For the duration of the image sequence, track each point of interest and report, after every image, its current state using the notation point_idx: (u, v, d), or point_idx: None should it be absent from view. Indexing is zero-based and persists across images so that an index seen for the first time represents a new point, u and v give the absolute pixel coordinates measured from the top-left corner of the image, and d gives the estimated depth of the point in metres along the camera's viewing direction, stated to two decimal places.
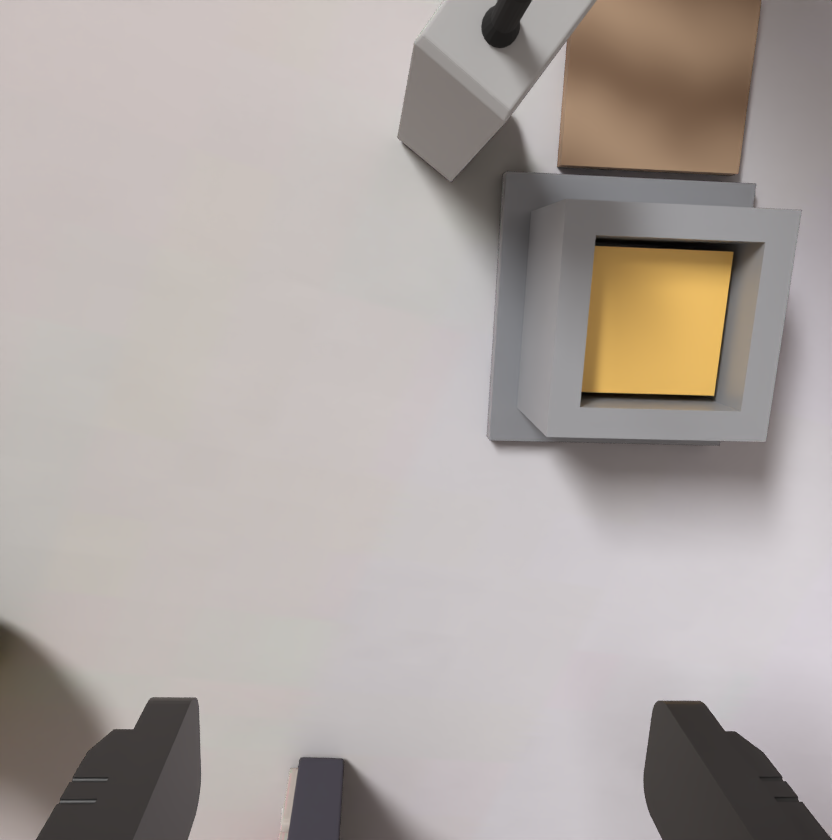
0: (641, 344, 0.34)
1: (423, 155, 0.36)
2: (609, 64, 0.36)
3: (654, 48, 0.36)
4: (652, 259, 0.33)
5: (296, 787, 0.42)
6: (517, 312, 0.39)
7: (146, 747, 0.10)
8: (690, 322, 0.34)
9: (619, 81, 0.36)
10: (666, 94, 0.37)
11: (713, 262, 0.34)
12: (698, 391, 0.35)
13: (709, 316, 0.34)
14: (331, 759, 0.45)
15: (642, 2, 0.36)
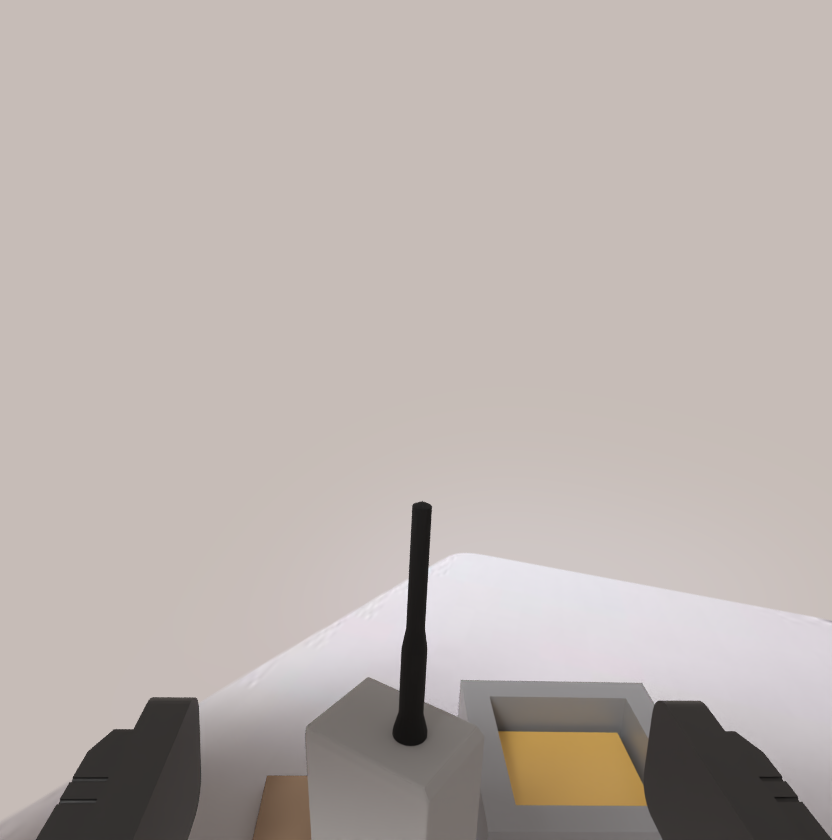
0: (596, 785, 0.36)
1: None
2: None
3: None
4: (517, 783, 0.35)
5: None
6: None
7: (146, 747, 0.10)
8: (562, 752, 0.38)
9: None
10: None
11: (507, 742, 0.38)
12: (619, 742, 0.39)
13: (552, 741, 0.39)
14: None
15: None
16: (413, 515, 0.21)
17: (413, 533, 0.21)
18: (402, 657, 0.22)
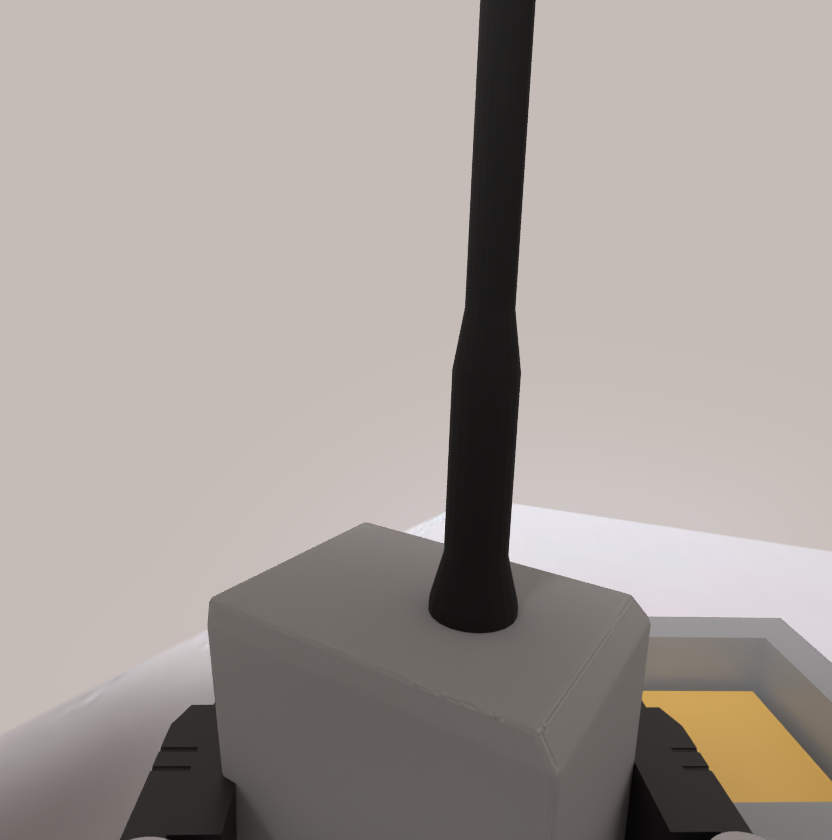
0: (745, 769, 0.22)
1: None
2: None
3: None
4: None
5: None
6: None
7: None
8: (678, 721, 0.24)
9: None
10: None
11: None
12: (760, 705, 0.25)
13: (657, 704, 0.25)
14: None
15: None
16: None
17: None
18: (455, 390, 0.08)
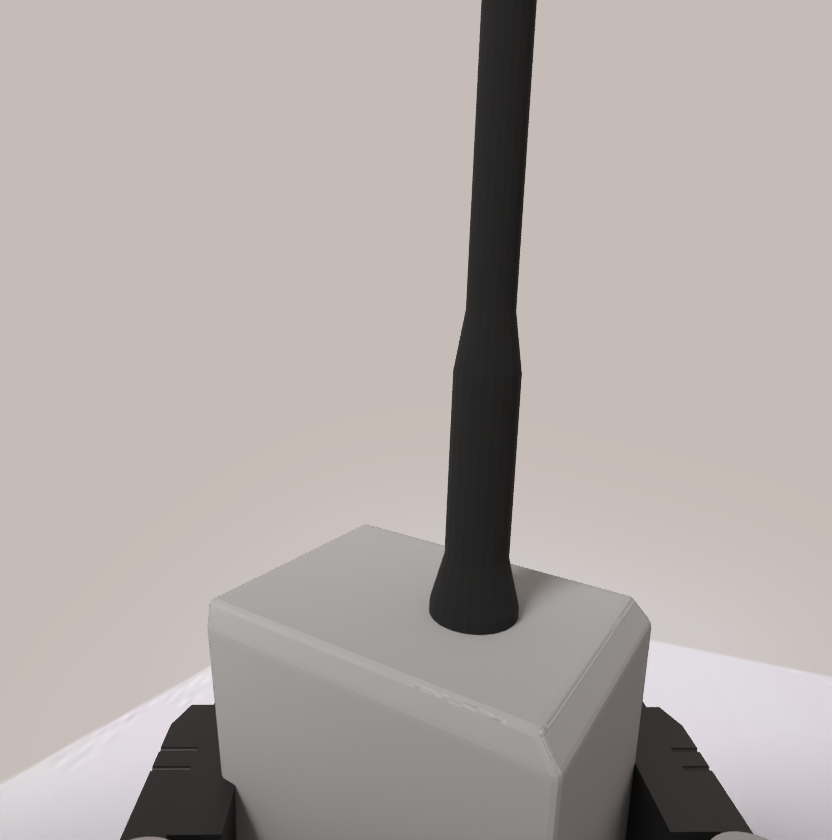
0: None
1: None
2: None
3: None
4: None
5: None
6: None
7: None
8: None
9: None
10: None
11: None
12: None
13: None
14: None
15: None
16: None
17: None
18: (456, 392, 0.08)
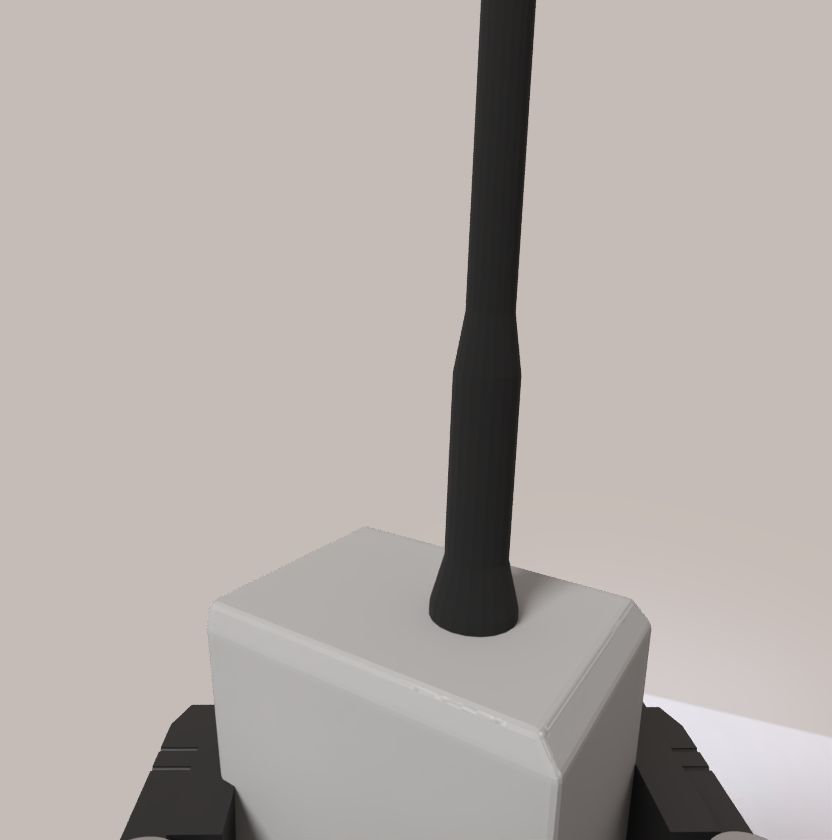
0: None
1: None
2: None
3: None
4: None
5: None
6: None
7: None
8: None
9: None
10: None
11: None
12: None
13: None
14: None
15: None
16: None
17: None
18: (456, 394, 0.08)
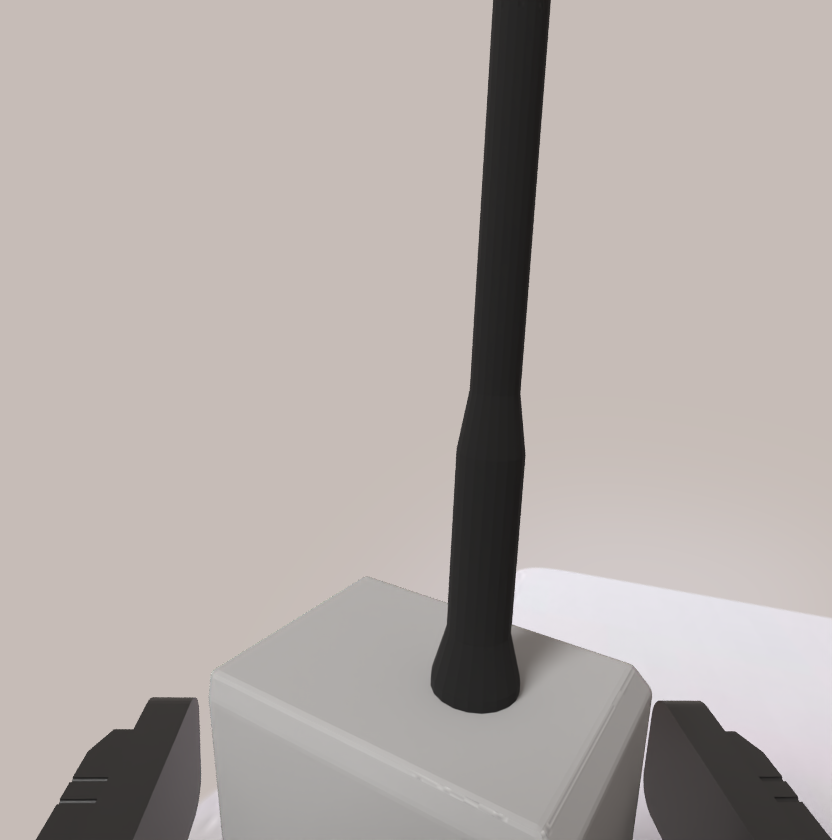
0: None
1: None
2: None
3: None
4: None
5: None
6: None
7: (146, 747, 0.10)
8: None
9: None
10: None
11: None
12: None
13: None
14: None
15: None
16: (497, 21, 0.07)
17: (497, 80, 0.07)
18: (459, 473, 0.08)
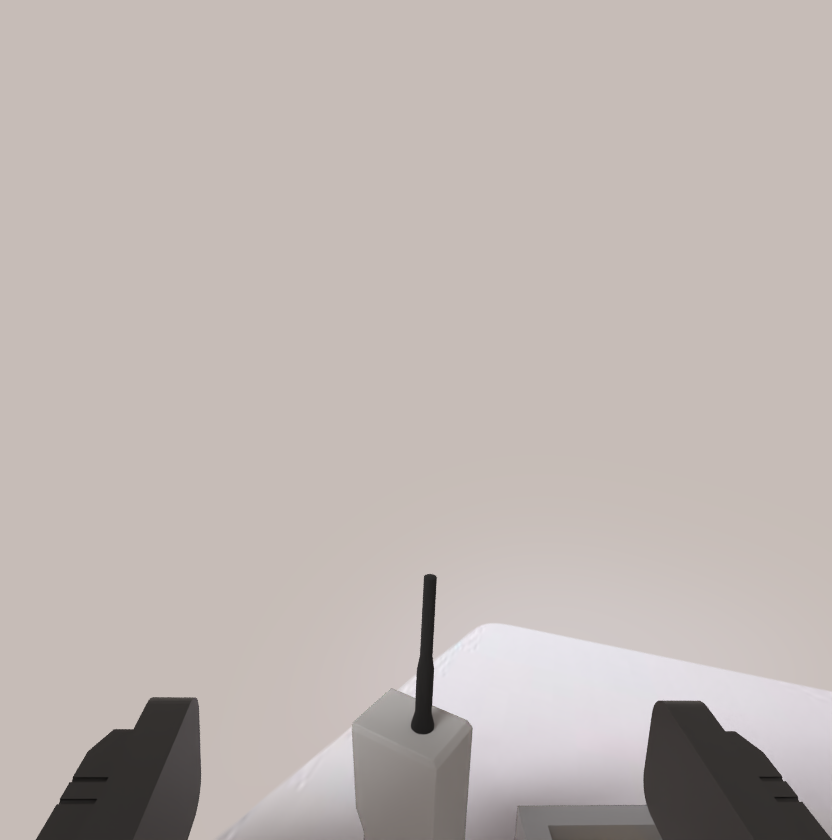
0: None
1: None
2: None
3: None
4: None
5: None
6: None
7: (146, 747, 0.10)
8: None
9: None
10: None
11: None
12: None
13: None
14: None
15: None
16: (424, 583, 0.32)
17: (424, 594, 0.32)
18: (417, 675, 0.33)
